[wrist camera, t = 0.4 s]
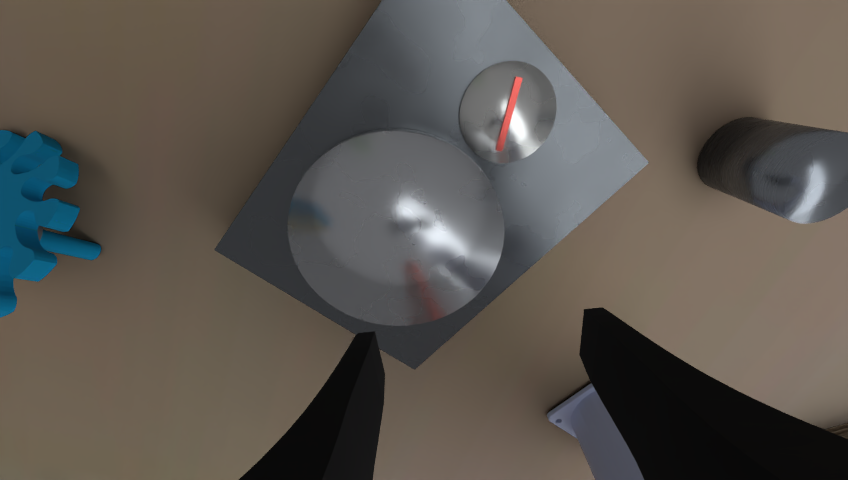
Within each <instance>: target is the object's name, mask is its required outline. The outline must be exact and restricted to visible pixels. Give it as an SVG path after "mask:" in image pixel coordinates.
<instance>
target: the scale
mask: <svg viewBox="0 0 848 480" xmlns="http://www.w3.org/2000/svg"><path fill="white" fill-rule="evenodd" d="M648 163H649V162H648V161H647V160H646V159H645V158H644V157H643V155H642V154H641V153H640V152H639V151H638V150H637V149H636V147H635V146H634V145H633V144H632V143H631V142H630V141H629V140H628V138H627V137H626V136H625V135H624V134H623V133H622V132H621V130H620V129H619V128H618V127H617V126H616V125H615V124H614V122H613V121H612V120H611V119H610V118H609V117H608V116H607V115H606V113H605V112H604V111H603V110H602V109H601V108H600V107H599V105H598V104H597V103H596V102H595V101H594V100H593V99H592V97H591V96H590V95H589V94H588V93H587V92H586V91H585V90H584V88H583V87H582V86H581V85H580V84H579V83H578V82H577V80H576V79H575V78H574V77H573V76H572V75H571V74H570V73H569V71H568V70H567V69H566V68H565V67H564V66H563V65H562V63H561V62H560V61H559V60H558V59H557V58H556V57H555V55H554V54H553V53H552V52H551V51H550V50H549V49H548V48H547V46H546V45H545V44H544V43H543V42H542V41H541V40H540V38H539V37H538V36H537V35H536V34H535V33H534V32H533V30H532V29H531V28H530V27H529V26H528V25H527V24H526V23H525V21H524V20H523V19H522V18H521V17H520V16H519V15H518V13H517V12H516V11H515V10H514V9H513V8H512V7H511V5H510V4H509V3H508V2H507V1H506V0H382V1H381V3H380V4H379V6H378V7H377V9H376V10H375V12H374V13H373V15H372V16H371V18H370V19H369V21H368V22H367V24H366V25H365V27H364V28H363V30H362V31H361V33H360V34H359V36H358V37H357V39H356V40H355V42H354V43H353V45H352V46H351V47H350V49H349V50H348V52H347V53H346V55H345V56H344V58H343V59H342V61H341V62H340V64H339V65H338V67H337V68H336V70H335V71H334V73H333V74H332V76H331V77H330V79H329V80H328V82H327V83H326V85H325V86H324V88H323V89H322V91H321V92H320V94H319V95H318V97H317V98H316V99H315V101H314V102H313V104H312V105H311V107H310V108H309V110H308V111H307V113H306V114H305V116H304V117H303V119H302V120H301V122H300V123H299V125H298V126H297V128H296V129H295V131H294V132H293V134H292V135H291V137H290V138H289V140H288V141H287V143H286V144H285V146H284V147H283V149H282V150H281V151H280V153H279V154H278V156H277V157H276V159H275V160H274V162H273V163H272V165H271V166H270V168H269V169H268V171H267V172H266V174H265V175H264V177H263V178H262V180H261V181H260V183H259V184H258V186H257V187H256V189H255V190H254V192H253V193H252V195H251V196H250V198H249V199H248V201H247V202H246V203H245V205H244V206H243V208H242V209H241V211H240V212H239V214H238V215H237V217H236V218H235V220H234V221H233V223H232V224H231V226H230V227H229V229H228V230H227V232H226V233H225V235H224V236H223V238H222V239H221V241H220V242H219V244H218V245H217V247H216V248H215V251H217V252H219V253H220V254H222V255H224V256H225V257H227V258H229V259H230V260H232V261H234V262H235V263H237V264H239V265H240V266H242V267H244V268H245V269H247V270H249V271H250V272H252V273H254V274H255V275H257V276H259V277H260V278H262V279H264V280H265V281H267V282H269V283H271V284H272V285H274V286H276V287H277V288H279V289H281V290H282V291H284V292H286V293H287V294H289V295H291V296H292V297H294V298H296V299H297V300H299V301H301V302H302V303H304V304H306V305H307V306H309V307H311V308H312V309H314V310H316V311H317V312H319V313H321V314H322V315H324V316H326V317H327V318H329V319H331V320H332V321H334V322H336V323H337V324H339V325H341V326H342V327H344V328H346V329H347V330H349V331H351V332H352V333H354V334H356V335H357V333H363V332H373V331H375V333H376V338H377V342H378V346H379V349H381V350H383V351H384V352H386V353H388V354H389V355H391V356H393V357H394V358H396V359H398V360H399V361H401V362H403V363H404V364H406V365H408V366H409V367H411V368H413V369H414V370H415V369H416V368H417V367H418V366H419V365H420V364H422V363H423V362H424V361H425V360H426V359H427V358H428V357H429V356H431V355H432V354H433V353H434V352H435V351H436V350H437V349H439V348H440V347H441V346H442V345H443V344H444V343H445V342H446V341H448V340H449V339H450V338H451V337H452V336H453V335H454V334H456V333H457V332H458V331H459V330H460V329H461V328H462V327H463V326H465V325H466V324H467V323H468V322H469V321H470V320H471V319H472V318H474V317H475V316H476V315H477V314H478V313H479V312H480V311H482V310H483V309H484V308H485V307H486V306H487V305H488V304H489V303H491V302H492V301H493V300H494V299H495V298H496V297H497V296H499V295H500V294H501V293H502V292H503V291H504V290H505V289H506V288H508V287H509V286H510V285H511V284H512V283H513V282H514V281H516V280H517V279H518V278H519V277H520V276H521V275H522V274H523V273H525V272H526V271H527V270H528V269H529V268H530V267H531V266H532V265H534V264H535V263H536V262H537V261H538V260H539V259H540V258H542V257H543V256H544V255H545V254H546V253H547V252H548V251H549V250H551V249H552V248H553V247H554V246H555V245H556V244H557V243H559V242H560V241H561V240H562V239H563V238H564V237H565V236H566V235H568V234H569V233H570V232H571V231H572V230H573V229H574V228H576V227H577V226H578V225H579V224H580V223H581V222H582V221H583V220H585V219H586V218H587V217H588V216H589V215H590V214H591V213H593V212H594V211H595V210H596V209H597V208H598V207H599V206H600V205H602V204H603V203H604V202H605V201H606V200H607V199H608V198H609V197H611V196H612V195H613V194H614V193H615V192H616V191H617V190H619V189H620V188H621V187H622V186H623V185H624V184H625V183H626V182H628V181H629V180H630V179H631V178H632V177H633V176H634V175H636V174H637V173H638V172H639V171H640V170H641V169H642V168H643V167H645V166H646V165H647V164H648Z"/></svg>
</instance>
